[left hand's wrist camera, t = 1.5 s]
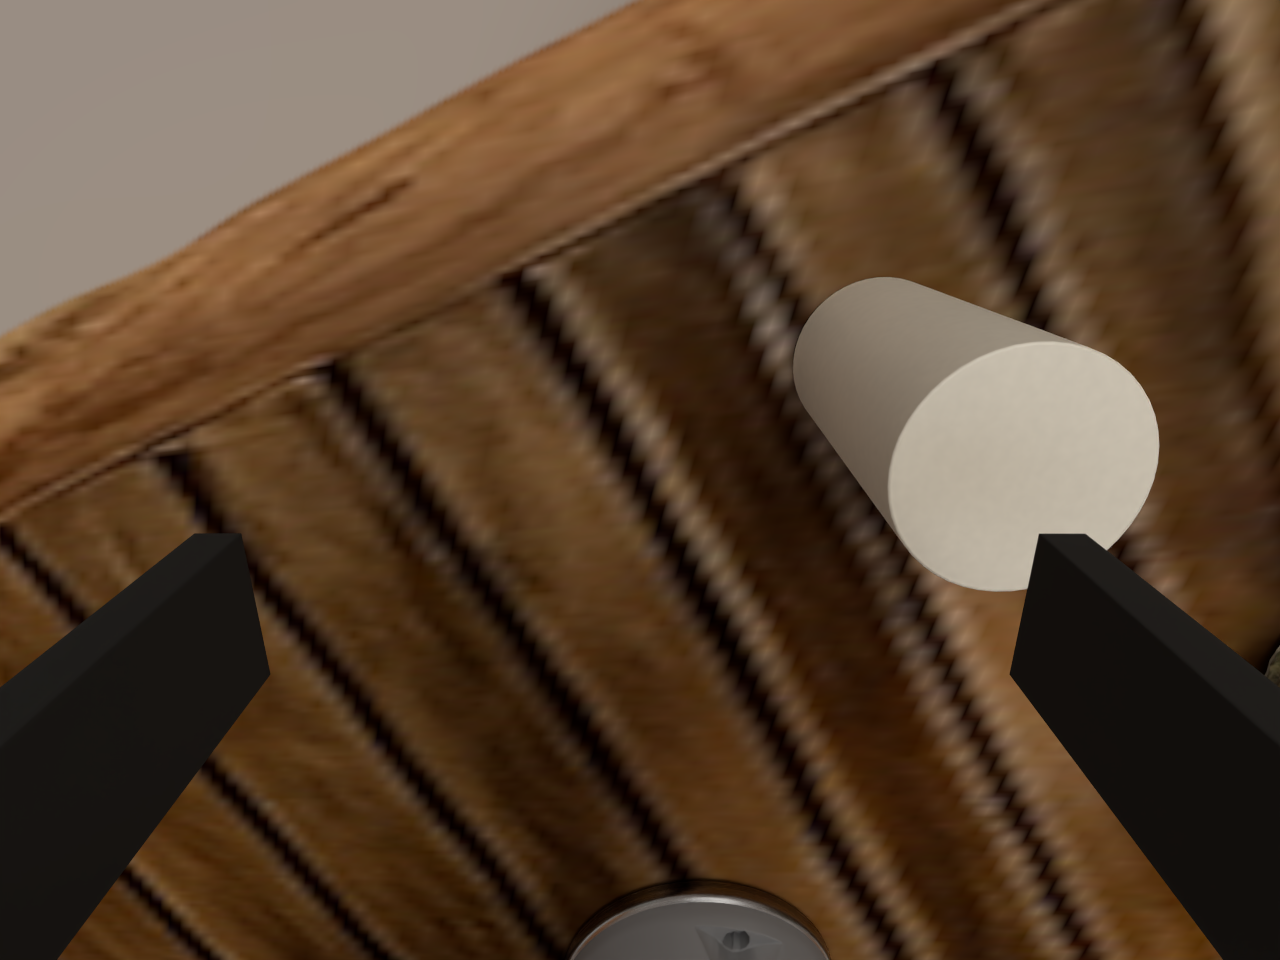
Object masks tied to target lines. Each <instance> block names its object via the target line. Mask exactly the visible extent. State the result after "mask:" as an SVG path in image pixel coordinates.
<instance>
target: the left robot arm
mask: <svg viewBox="0 0 1280 960" xmlns="http://www.w3.org/2000/svg"><path fill="white" fill-rule="evenodd" d="M269 676H270V670H269V665H268V661H267V656H266V651H265V646H264V641H263V637H262V632H261V627H260V622H259V617H258V612H257V608H256V603H255V598H254V593H253V588H252V584H251V579H250V574H249V569H248V564H247V560H246V555H245V550H244V545H243V540H242V535H241V534H193V535H192V536H191V537H190V538H188V539H187V540H186V541H185V542H183V543H182V544H181V545H180V546H178V547H177V548H176V549H174V550H173V551H172V552H171V553H169V554H168V555H167V556H166V557H164V558H163V559H162V560H161V561H159V562H158V563H157V564H156V565H154V566H153V567H152V568H151V569H149V570H148V571H147V572H145V573H144V574H143V575H142V576H140V577H139V578H138V579H137V580H135V581H134V582H133V583H132V584H130V585H129V586H128V587H127V588H125V589H124V590H123V591H121V592H120V593H119V594H118V595H116V596H115V597H114V598H113V599H111V600H110V601H109V602H108V603H106V604H105V605H104V606H103V607H101V608H100V609H99V610H98V611H96V612H95V613H94V614H92V615H91V616H90V617H89V618H87V619H86V620H85V621H84V622H82V623H81V624H80V625H79V626H77V627H76V628H75V629H74V630H72V631H71V632H70V633H68V634H67V635H66V636H65V637H63V638H62V639H61V640H60V641H58V642H57V643H56V644H55V645H53V646H52V647H51V648H50V649H48V650H47V651H46V652H45V653H43V654H42V655H41V656H39V657H38V658H37V659H36V660H34V661H33V662H32V663H31V664H29V665H28V666H27V667H26V668H24V669H23V670H22V671H21V672H19V673H18V674H17V675H15V676H14V677H13V678H12V679H10V680H9V681H8V682H7V683H5V684H4V685H3V686H2V687H0V960H57V959H58V957H59V956H60V955H61V953H62V952H63V951H64V949H65V948H66V947H67V945H68V944H69V943H70V941H71V940H72V939H73V937H74V936H75V935H76V933H77V932H78V931H79V929H80V928H81V927H82V925H83V924H84V923H85V921H86V920H87V919H88V917H89V916H90V915H91V913H92V912H93V911H94V909H95V908H96V907H97V905H98V904H99V903H100V901H101V900H102V899H103V897H104V896H105V895H106V893H107V892H108V891H109V889H110V888H111V887H112V885H113V884H114V883H115V881H116V880H117V879H118V877H119V876H120V875H121V873H122V872H123V871H124V869H125V868H126V867H127V865H128V864H129V863H130V861H131V860H132V859H133V857H134V856H135V855H136V853H137V852H138V851H139V849H140V848H141V847H142V845H143V844H144V842H145V841H146V840H147V838H148V837H149V836H150V834H151V833H152V832H153V830H154V829H155V828H156V826H157V825H158V824H159V822H160V821H161V820H162V818H163V817H164V816H165V814H166V813H167V812H168V810H169V809H170V808H171V806H172V805H173V804H174V802H175V801H176V800H177V798H178V797H179V796H180V794H181V793H182V792H183V790H184V789H185V788H186V786H187V785H188V784H189V782H190V781H191V780H192V778H193V777H194V776H195V774H196V773H197V772H198V770H199V769H200V768H201V766H202V765H203V764H204V762H205V761H206V760H207V758H208V757H209V756H210V754H211V753H212V752H213V750H214V749H215V748H216V746H217V745H218V744H219V742H220V741H221V740H222V738H223V737H224V736H225V734H226V733H227V732H228V730H229V729H230V728H231V726H232V725H233V724H234V722H235V721H236V720H237V718H238V717H239V716H240V714H241V713H242V712H243V710H244V709H245V708H246V706H247V705H248V704H249V702H250V701H251V700H252V698H253V697H254V696H255V694H256V693H257V692H258V690H259V689H260V688H261V686H262V685H263V684H264V682H265V681H266V680H267V678H268V677H269ZM1010 676H1011V677H1012V678H1013V680H1014V681H1015V682H1016V684H1017V685H1018V686H1019V688H1020V689H1021V690H1022V692H1023V693H1024V694H1025V696H1026V697H1027V698H1028V700H1029V701H1030V702H1031V704H1032V705H1033V706H1034V708H1035V709H1036V710H1037V712H1038V713H1039V714H1040V716H1041V717H1042V718H1043V720H1044V721H1045V722H1046V724H1047V725H1048V726H1049V728H1050V729H1051V730H1052V732H1053V733H1054V734H1055V736H1056V737H1057V738H1058V740H1059V741H1060V742H1061V744H1062V745H1063V746H1064V748H1065V749H1066V750H1067V752H1068V753H1069V754H1070V756H1071V757H1072V758H1073V760H1074V761H1075V762H1076V764H1077V765H1078V766H1079V768H1080V769H1081V770H1082V772H1083V773H1084V774H1085V776H1086V777H1087V778H1088V780H1089V781H1090V782H1091V784H1092V785H1093V786H1094V788H1095V789H1096V790H1097V792H1098V793H1099V794H1100V796H1101V797H1102V798H1103V800H1104V801H1105V802H1106V804H1107V805H1108V806H1109V808H1110V809H1111V810H1112V812H1113V813H1114V814H1115V816H1116V817H1117V818H1118V820H1119V821H1120V822H1121V824H1122V825H1123V826H1124V828H1125V829H1126V830H1127V832H1128V833H1129V834H1130V836H1131V837H1132V838H1133V840H1134V841H1135V842H1136V844H1137V845H1138V847H1139V848H1140V849H1141V851H1142V852H1143V853H1144V855H1145V856H1146V857H1147V859H1148V860H1149V861H1150V863H1151V864H1152V865H1153V867H1154V868H1155V869H1156V871H1157V872H1158V873H1159V875H1160V876H1161V877H1162V879H1163V880H1164V881H1165V883H1166V884H1167V885H1168V887H1169V888H1170V889H1171V891H1172V892H1173V893H1174V895H1175V896H1176V897H1177V899H1178V900H1179V901H1180V903H1181V904H1182V905H1183V907H1184V908H1185V909H1186V911H1187V912H1188V913H1189V915H1190V916H1191V917H1192V919H1193V920H1194V921H1195V923H1196V924H1197V925H1198V927H1199V928H1200V929H1201V931H1202V932H1203V933H1204V935H1205V936H1206V937H1207V939H1208V940H1209V941H1210V943H1211V944H1212V945H1213V947H1214V948H1215V949H1216V951H1217V952H1218V953H1219V955H1220V956H1221V957H1222V959H1223V960H1280V687H1278V686H1277V685H1276V684H1275V683H1273V682H1272V681H1271V680H1270V679H1268V678H1267V677H1266V676H1265V675H1263V674H1262V673H1261V672H1259V671H1258V670H1257V669H1256V668H1254V667H1253V666H1252V665H1251V664H1249V663H1248V662H1247V661H1246V660H1244V659H1243V658H1242V657H1241V656H1239V655H1238V654H1237V653H1235V652H1234V651H1233V650H1232V649H1230V648H1229V647H1228V646H1227V645H1225V644H1224V643H1223V642H1222V641H1220V640H1219V639H1218V638H1217V637H1215V636H1214V635H1213V634H1212V633H1210V632H1209V631H1208V630H1206V629H1205V628H1204V627H1203V626H1201V625H1200V624H1199V623H1198V622H1196V621H1195V620H1194V619H1193V618H1191V617H1190V616H1189V615H1188V614H1186V613H1185V612H1184V611H1182V610H1181V609H1180V608H1179V607H1177V606H1176V605H1175V604H1174V603H1172V602H1171V601H1170V600H1169V599H1167V598H1166V597H1165V596H1164V595H1162V594H1161V593H1160V592H1159V591H1157V590H1156V589H1155V588H1153V587H1152V586H1151V585H1150V584H1148V583H1147V582H1146V581H1145V580H1143V579H1142V578H1141V577H1140V576H1138V575H1137V574H1136V573H1135V572H1133V571H1132V570H1131V569H1130V568H1128V567H1127V566H1126V565H1124V564H1123V563H1122V562H1121V561H1119V560H1118V559H1117V558H1116V557H1114V556H1113V555H1112V554H1111V553H1109V552H1108V551H1107V550H1106V549H1104V548H1103V547H1102V546H1100V545H1099V544H1098V543H1097V542H1095V541H1094V540H1093V539H1092V538H1090V537H1089V536H1088V535H1087V534H1039V536H1038V540H1037V545H1036V550H1035V555H1034V560H1033V564H1032V569H1031V574H1030V579H1029V584H1028V588H1027V593H1026V598H1025V603H1024V608H1023V613H1022V617H1021V622H1020V627H1019V632H1018V637H1017V641H1016V646H1015V651H1014V656H1013V661H1012V665H1011V670H1010ZM565 960H831V958H830V955H829V951H828V948H827V946H826V944H825V941H824V939H823V938H822V936H821V935H820V933H819V931H818V930H817V929H816V928H815V926H814V925H813V924H812V923H811V922H810V921H809V920H808V919H807V918H806V917H805V916H804V915H803V914H802V913H800V912H799V911H798V910H797V909H795V908H794V907H792V906H791V905H789V904H788V903H786V902H784V901H783V900H781V899H779V898H777V897H775V896H773V895H770V894H768V893H765V892H763V891H760V890H757V889H754V888H751V887H747V886H742V885H738V884H733V883H726V882H717V881H684V882H675V883H668V884H663V885H659V886H654V887H651V888H647V889H644V890H640V891H638V892H635V893H633V894H630V895H628V896H626V897H623V898H621V899H619V900H617V901H615V902H614V903H612V904H610V905H609V906H607V907H605V908H604V909H603V910H601V911H600V912H599V913H597V914H596V915H595V916H594V917H593V918H591V919H590V920H589V921H588V922H587V923H586V924H585V925H584V926H583V927H582V929H581V930H580V931H579V932H578V934H577V935H576V936H575V938H574V939H573V941H572V943H571V945H570V947H569V949H568V951H567V954H566V956H565Z"/></svg>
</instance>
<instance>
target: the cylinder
mask: <svg viewBox="0 0 1280 960" xmlns="http://www.w3.org/2000/svg"><path fill="white" fill-rule="evenodd" d="M793 375H794V382H795V387H796V391H797V393H798V396H799V399H800V401H801V402H802V404H803V406H804V408H805V409H806V411H807V412H808V413H809V415H810V416H811V418H812V419H813V420H814V422H815V423H816V424H817V426H818V427H819V429H820V430H821V431H822V433H823V434H824V435H825V437H826V438H827V440H828V441H829V442H830V444H831V445H832V447H833V448H834V449H835V451H836V452H837V453H838V455H839V456H840V458H841V459H842V460H843V462H844V463H845V464H846V466H847V467H848V469H849V470H850V471H851V473H852V474H853V476H854V477H855V478H856V480H857V481H858V482H859V484H860V485H861V487H862V488H863V489H864V491H865V492H866V493H867V495H868V496H869V498H870V499H871V500H872V502H873V503H874V505H875V506H876V507H877V509H878V510H879V511H880V513H881V514H882V516H883V517H884V518H885V520H886V521H887V522H888V524H889V525H890V527H891V528H892V529H893V531H894V532H895V534H896V535H897V536H898V538H899V539H900V540H901V542H902V543H903V545H904V546H905V547H906V548H907V550H908V551H909V552H910V554H911V555H912V556H913V557H914V558H915V559H916V560H917V561H918V562H919V563H920V564H921V565H922V566H924V567H925V568H926V569H928V570H929V571H931V572H932V573H933V574H935V575H937V576H939V577H941V578H943V579H945V580H947V581H949V582H952V583H954V584H957V585H960V586H963V587H968V588H972V589H977V590H984V591H1016V590H1023V589H1027V588H1028V584H1029V579H1030V574H1031V569H1032V564H1033V560H1034V555H1035V550H1036V545H1037V540H1038V536H1039V534H1087V535H1088V536H1089V537H1090V538H1092V539H1093V540H1094V541H1095V542H1097V543H1098V544H1099V545H1100V546H1102V547H1103V548H1104V549H1106V550H1107V549H1109V548H1110V547H1111V546H1112V545H1113V544H1114V543H1115V542H1116V541H1117V540H1118V539H1119V538H1120V537H1121V536H1122V534H1123V533H1124V532H1125V531H1126V530H1127V529H1128V527H1129V526H1130V525H1131V523H1132V522H1133V520H1134V519H1135V517H1136V516H1137V515H1138V513H1139V512H1140V510H1141V508H1142V506H1143V504H1144V502H1145V500H1146V498H1147V496H1148V494H1149V491H1150V489H1151V486H1152V483H1153V481H1154V477H1155V473H1156V468H1157V464H1158V454H1159V435H1158V427H1157V422H1156V417H1155V414H1154V411H1153V409H1152V406H1151V403H1150V401H1149V399H1148V397H1147V395H1146V394H1145V392H1144V390H1143V388H1142V387H1141V385H1140V384H1139V383H1138V382H1137V380H1136V379H1135V378H1134V377H1133V376H1132V374H1131V373H1130V372H1129V371H1127V370H1126V369H1125V368H1124V367H1123V366H1122V365H1120V364H1119V363H1118V362H1117V361H1115V360H1113V359H1112V358H1110V357H1108V356H1107V355H1105V354H1103V353H1101V352H1099V351H1096V350H1094V349H1091V348H1089V347H1086V346H1084V345H1081V344H1078V343H1076V342H1073V341H1070V340H1068V339H1065V338H1062V337H1059V336H1057V335H1054V334H1051V333H1049V332H1046V331H1043V330H1041V329H1038V328H1035V327H1033V326H1030V325H1027V324H1024V323H1022V322H1019V321H1016V320H1014V319H1011V318H1008V317H1006V316H1003V315H1000V314H998V313H995V312H992V311H989V310H987V309H984V308H981V307H979V306H976V305H973V304H971V303H968V302H965V301H963V300H960V299H957V298H955V297H952V296H949V295H946V294H944V293H941V292H938V291H936V290H933V289H930V288H928V287H925V286H922V285H920V284H917V283H914V282H911V281H908V280H904V279H900V278H892V277H877V278H871V279H865V280H862V281H859V282H855V283H853V284H851V285H848V286H846V287H844V288H842V289H841V290H839V291H837V292H835V293H834V294H833V295H831V296H830V297H829V298H827V299H826V300H825V301H824V302H823V303H822V304H821V305H820V306H819V307H818V308H817V309H816V310H815V311H814V312H813V314H812V315H811V316H810V317H809V319H808V321H807V322H806V324H805V326H804V327H803V329H802V331H801V334H800V336H799V338H798V341H797V345H796V348H795V353H794V359H793Z"/></svg>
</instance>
